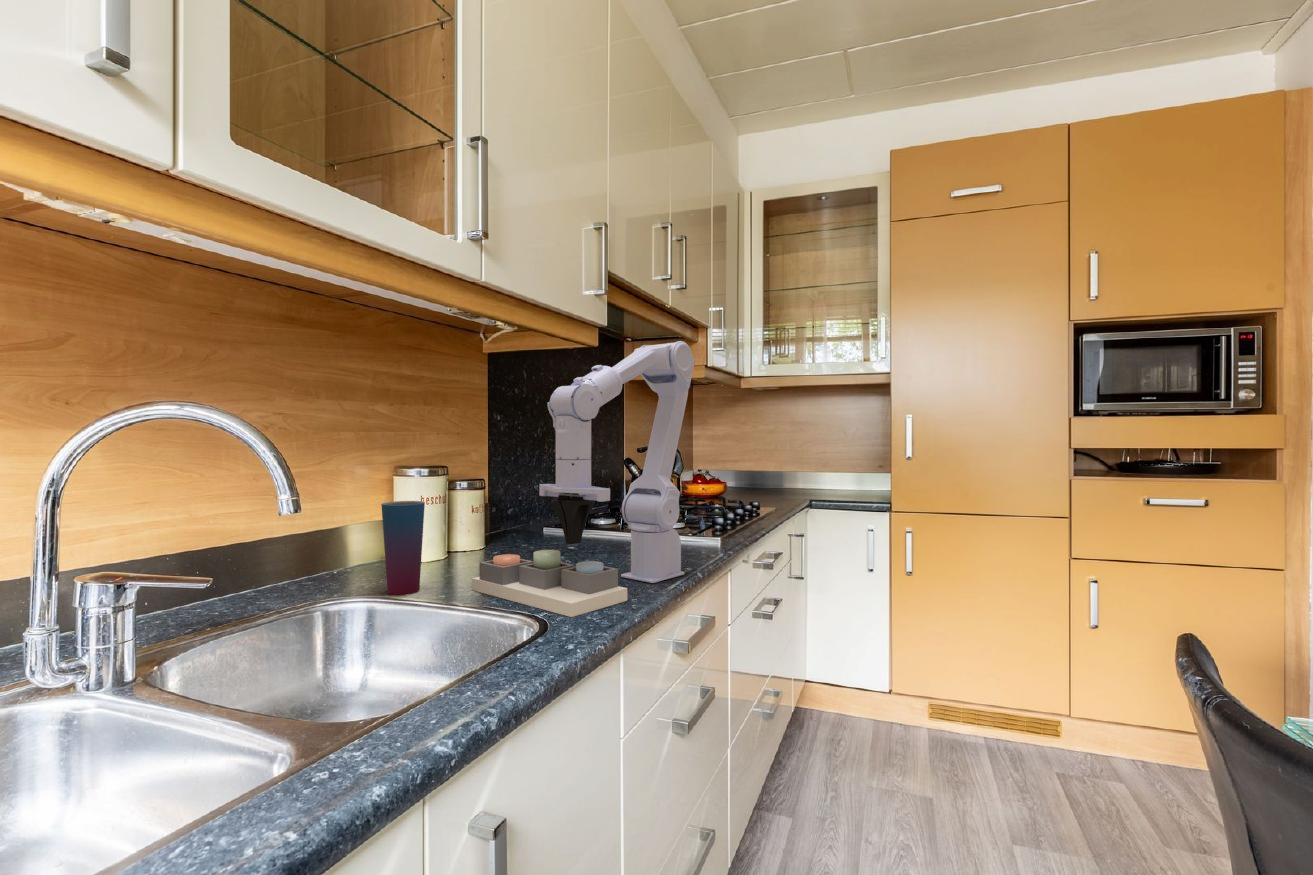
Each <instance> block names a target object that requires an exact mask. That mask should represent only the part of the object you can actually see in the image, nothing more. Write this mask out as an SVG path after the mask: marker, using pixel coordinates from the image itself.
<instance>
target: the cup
mask: <svg viewBox="0 0 1313 875" xmlns="http://www.w3.org/2000/svg"><path fill="white" fill-rule="evenodd" d="M425 503H426V502H425V501H422V500H397V501H396V500H395V501H386V502H383V503H381V515H382V518H381V519H382V531H383V547H384V560H385V561H384V562H385V563H384V564H385V573H386V574H385V575H386V577H385V578H386V588H387V589H386V591H387V594H388V595H391V596H405V595H413V594H415V593H417V592H419V591H420V588H421V587H420V583H421V572H422V571H421V570H422V555H423V554H422V552H423V550H422V549H423V537H424V522H425V521H424V520H425V518H424V517H425V505H426V504H425Z"/></svg>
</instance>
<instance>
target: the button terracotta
mask: <svg viewBox="0 0 1313 875" xmlns="http://www.w3.org/2000/svg"><path fill="white" fill-rule="evenodd" d="M520 559H521V556H520V555H519V554H511V553H508V554H507V553H505V554H498V555H494V556H493V559H492V560H493V564H494V565H499V566H503V567H504V566H509V565H514V564H519V563H520Z"/></svg>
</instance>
